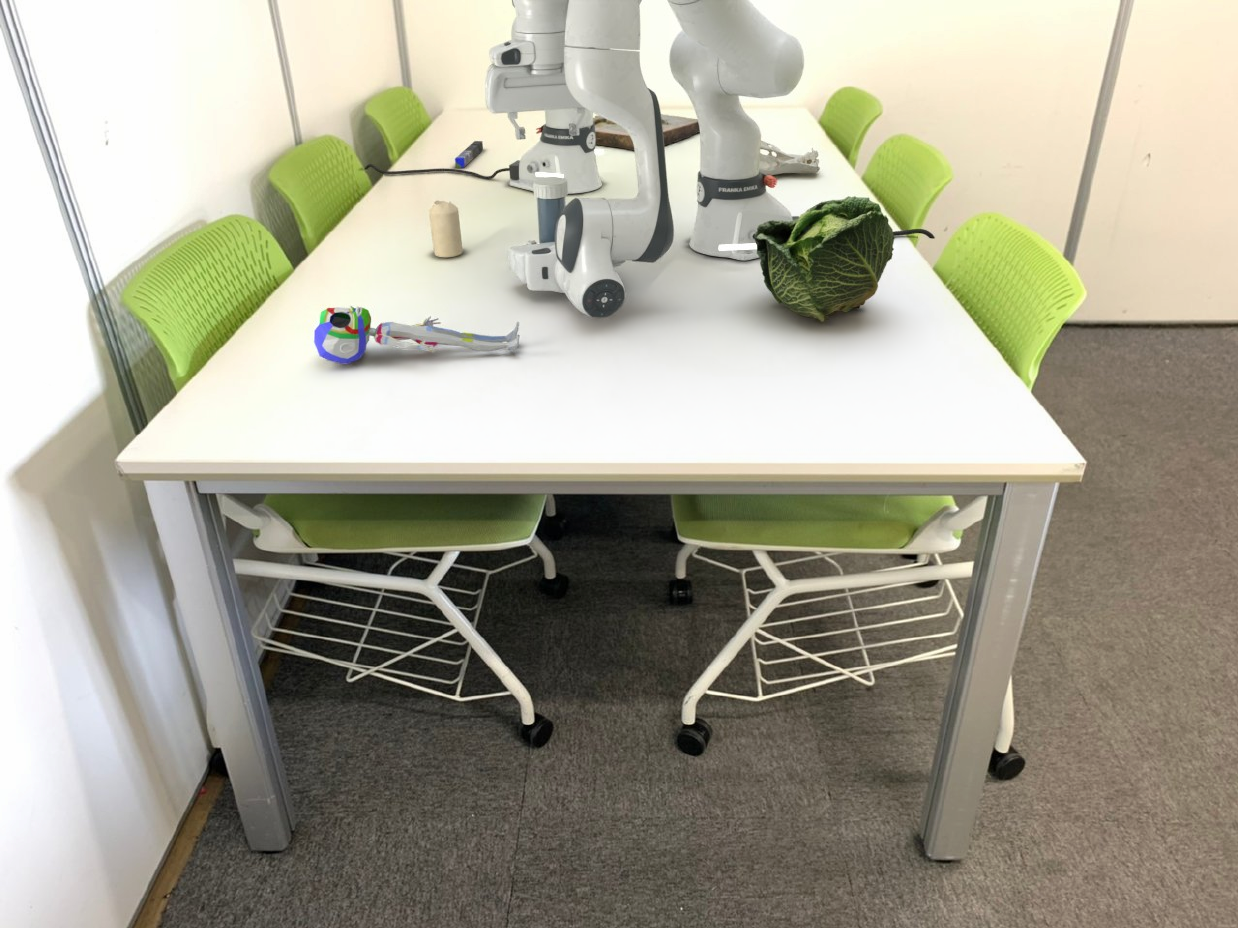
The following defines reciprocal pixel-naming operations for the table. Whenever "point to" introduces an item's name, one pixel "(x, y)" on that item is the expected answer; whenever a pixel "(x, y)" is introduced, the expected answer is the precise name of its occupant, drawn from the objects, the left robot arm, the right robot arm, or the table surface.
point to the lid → (550, 187)
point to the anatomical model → (787, 161)
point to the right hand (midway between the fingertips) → (555, 241)
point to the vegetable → (826, 256)
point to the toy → (392, 335)
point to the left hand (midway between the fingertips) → (547, 137)
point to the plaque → (618, 137)
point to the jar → (549, 217)
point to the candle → (445, 229)
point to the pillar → (468, 154)
